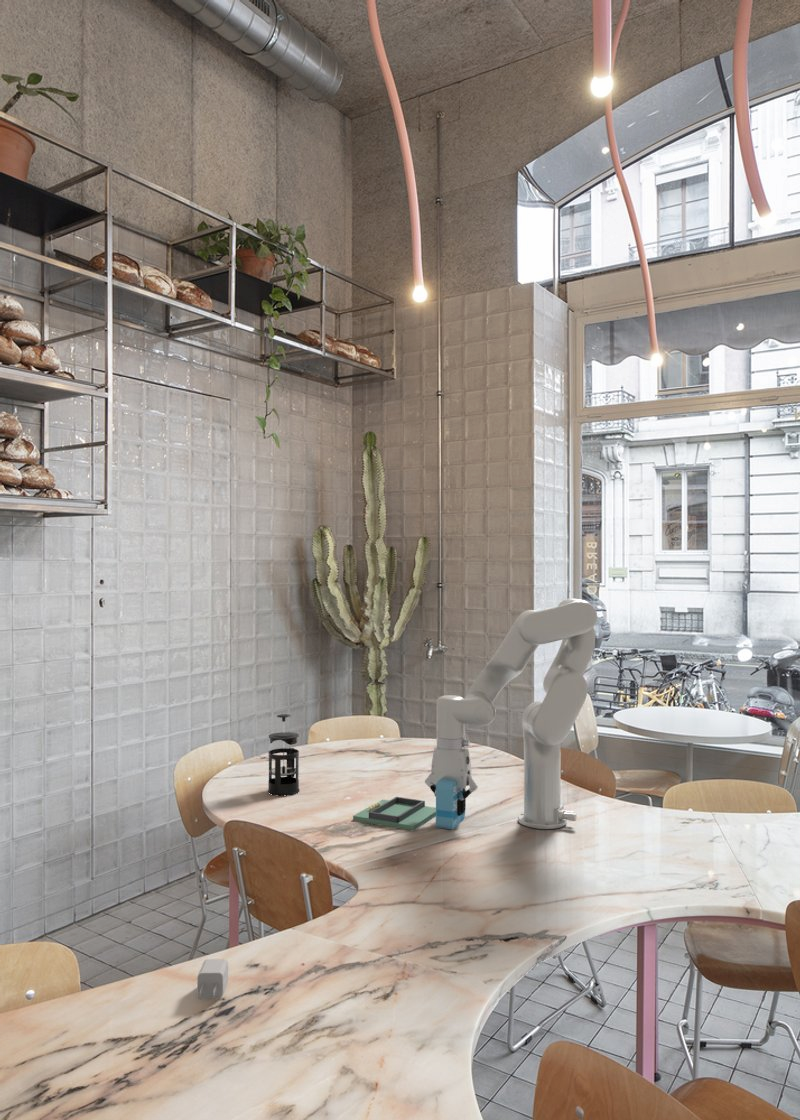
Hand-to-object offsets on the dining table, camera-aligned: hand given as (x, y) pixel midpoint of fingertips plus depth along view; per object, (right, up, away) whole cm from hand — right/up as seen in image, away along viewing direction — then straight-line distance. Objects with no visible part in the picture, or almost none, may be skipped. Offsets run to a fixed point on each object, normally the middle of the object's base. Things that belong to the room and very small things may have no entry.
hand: (450, 812), depth 209 cm
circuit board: (-14, -3, +6) cm, 15 cm away
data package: (0, -3, 0) cm, 3 cm away
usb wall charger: (-43, -3, -83) cm, 94 cm away
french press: (-48, -3, +29) cm, 56 cm away
